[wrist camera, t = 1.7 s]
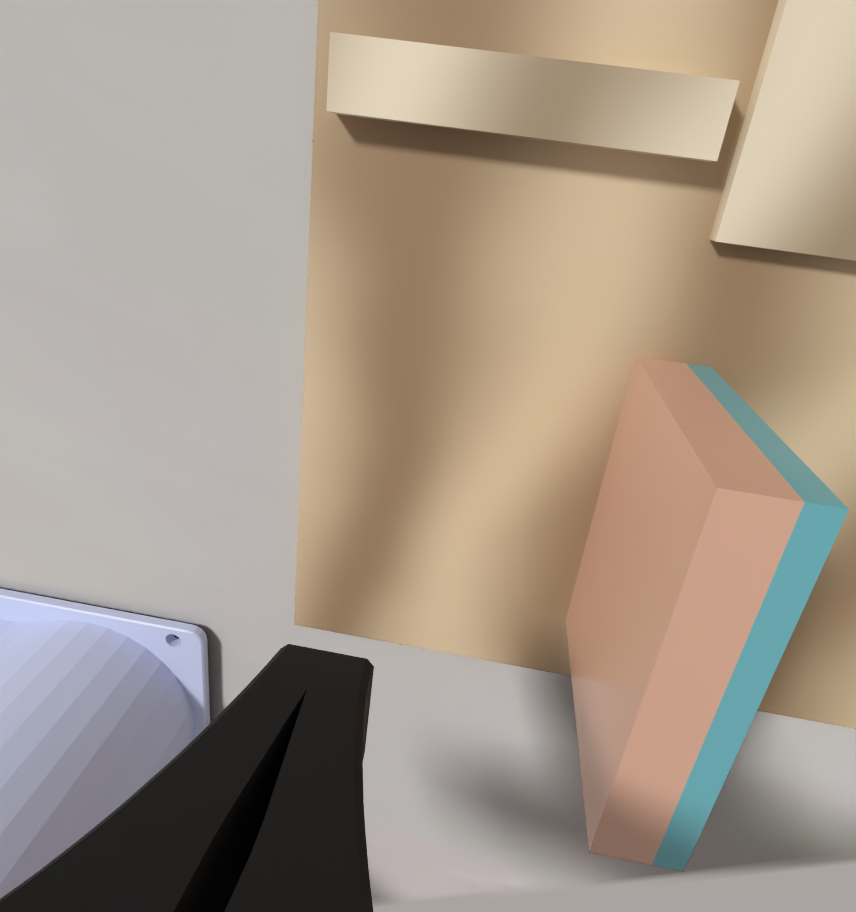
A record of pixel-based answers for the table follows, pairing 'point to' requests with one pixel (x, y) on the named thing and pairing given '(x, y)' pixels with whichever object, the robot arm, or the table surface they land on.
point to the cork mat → (541, 343)
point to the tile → (684, 604)
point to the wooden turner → (653, 116)
